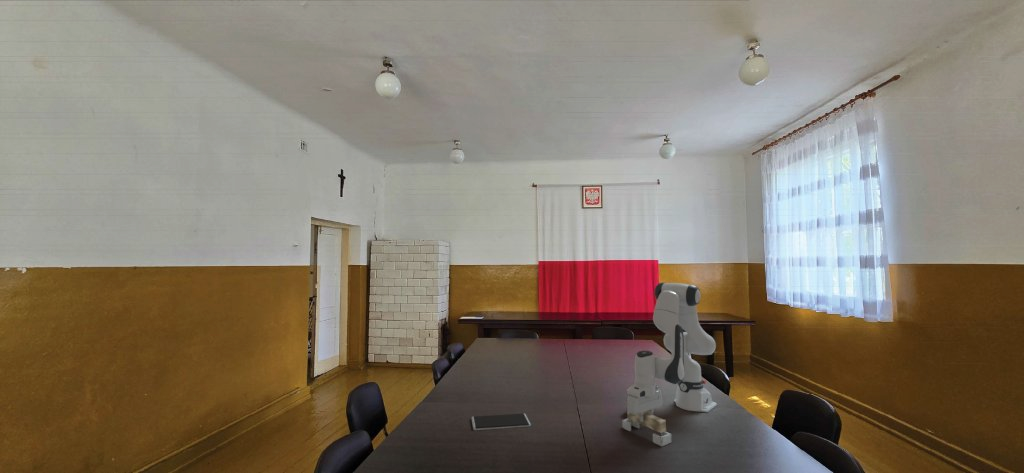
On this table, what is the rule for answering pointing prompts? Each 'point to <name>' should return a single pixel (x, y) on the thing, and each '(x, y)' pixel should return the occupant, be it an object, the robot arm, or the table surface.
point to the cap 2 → (662, 438)
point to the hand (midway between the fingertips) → (645, 420)
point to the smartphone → (500, 421)
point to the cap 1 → (629, 424)
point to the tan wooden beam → (649, 421)
